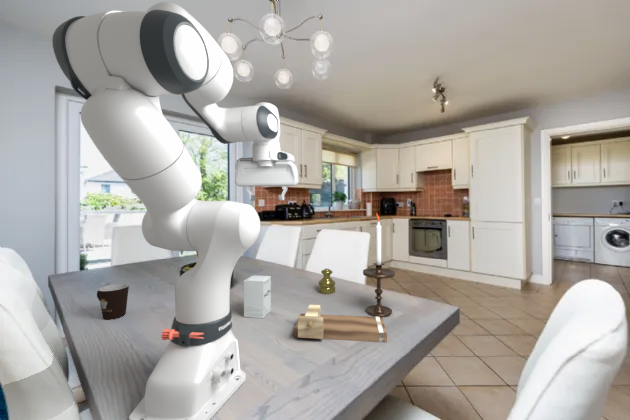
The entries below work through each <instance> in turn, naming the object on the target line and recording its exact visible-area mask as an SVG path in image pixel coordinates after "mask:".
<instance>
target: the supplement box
mask: <svg viewBox="0 0 630 420" xmlns="http://www.w3.org/2000/svg"><path fill="white" fill-rule="evenodd" d="M271 278H272V277H271V275H251V276H249V277H248V278H246V279H244V280H243V317H244V318H254V319H264V318H265V317H266V316H267V314H269V313H270V312H271V310H272V293H271V292H272V289H271V288H272V279H271Z"/></svg>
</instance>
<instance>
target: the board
mask: <svg viewBox="0 0 630 420" xmlns="http://www.w3.org/2000/svg"><path fill="white" fill-rule="evenodd" d="M305 314H306V313H300V314H299V316H305ZM321 317H323V339H322V340H339V341H356V342H373V343H374V342H377V343H387V342H388V333H387V332H388V331H387V329H386V325H385V323H384V317H374V316H367V315H366V316H365V315H363V316H361V315H360V316H359V315H345V314H344V315H342V314H341V315H338V314H321ZM293 335H294V337H293V338H297V339H298V338H299V337H298V320H296V323H295V325H294V328H293ZM315 339H317V338H315Z"/></svg>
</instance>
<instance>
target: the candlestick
mask: <svg viewBox="0 0 630 420" xmlns="http://www.w3.org/2000/svg"><path fill="white" fill-rule="evenodd" d="M375 216H376V220H377V225H375V262H374V263H372V265H374V266H375V267H369V268H364V269H363V270H362V275H363V276H365V277H367V278H372V279H376V288H375V289H374V292H375V294H376V296H375V298H374V299H375V300H376V304H372V305H368V306H366V307H365V313H366V314H367V315H368V316H370V317H382V318H388V317H391V316H392V315H391V314H393V310H392V308H391V307H389V306H385V305H382V302H381V300H383V296H382V294H383V292H384V291H383V289H382V288H381V287H382V284H381V280H383V279H391V278H393V277H395V276H396V274H395V271H394V270H392V269H389V268H383V266H385V263H383V262H382V225H381V223H380V221H381V220H380V217H379V215H378V213H376V215H375ZM390 315H391V316H390Z"/></svg>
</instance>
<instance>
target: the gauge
mask: <svg viewBox="0 0 630 420" xmlns="http://www.w3.org/2000/svg"><path fill="white" fill-rule="evenodd" d="M305 312H306V313H304V314H305V316H300V315H298V316H297V321H298V337H299V338H300V339H301V338H303V339H316V338H317V339H320V340H324V339H323V317H321V315H322V314H321V304H309V305H308V307H307V310H306V311H305ZM298 337H297V338H298Z"/></svg>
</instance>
